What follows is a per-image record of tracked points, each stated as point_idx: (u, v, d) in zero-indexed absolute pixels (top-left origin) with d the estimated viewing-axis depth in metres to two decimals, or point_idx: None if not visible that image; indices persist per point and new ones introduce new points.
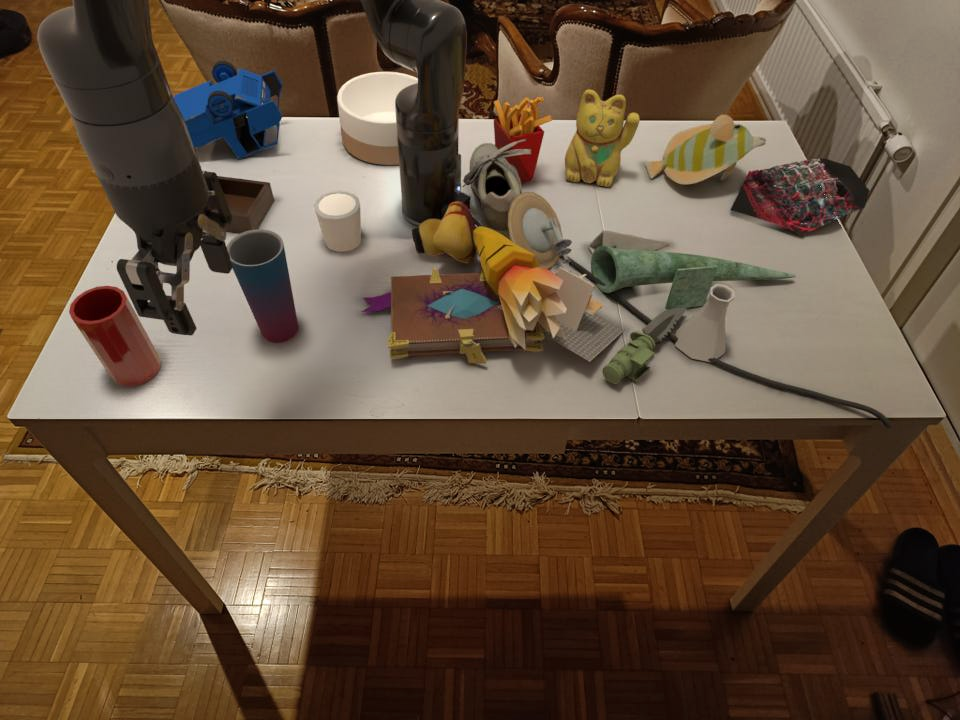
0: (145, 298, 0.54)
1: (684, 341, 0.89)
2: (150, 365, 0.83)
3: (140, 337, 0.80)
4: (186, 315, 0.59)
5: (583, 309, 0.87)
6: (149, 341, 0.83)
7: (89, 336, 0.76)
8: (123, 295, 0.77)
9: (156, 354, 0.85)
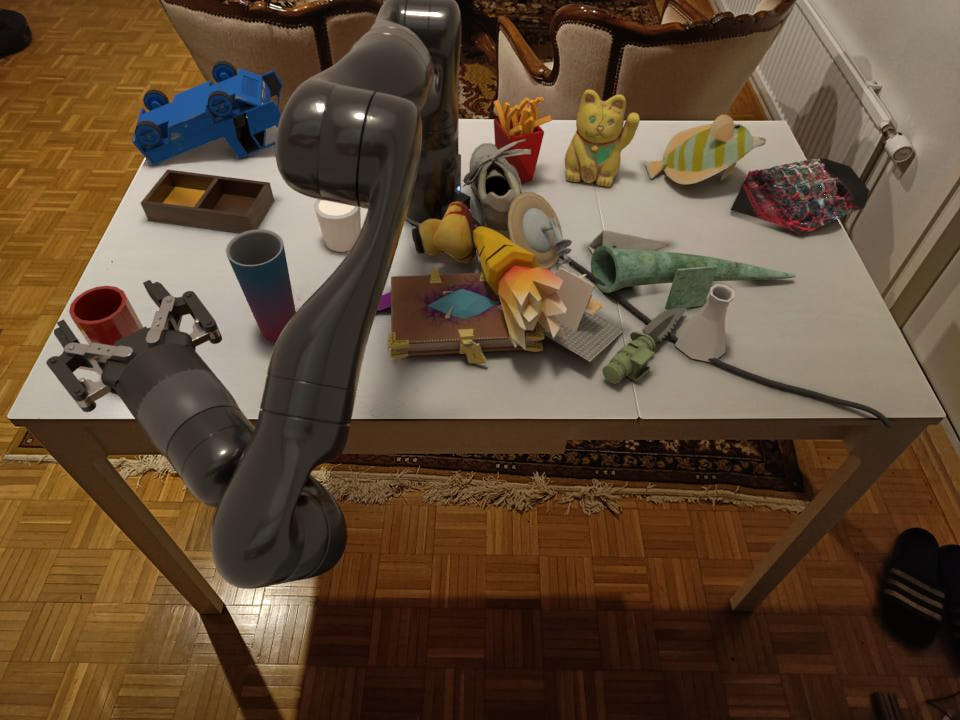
0: None
1: (684, 341, 0.89)
2: None
3: None
4: (158, 292, 0.65)
5: (583, 309, 0.87)
6: None
7: (89, 336, 0.76)
8: (123, 295, 0.77)
9: None
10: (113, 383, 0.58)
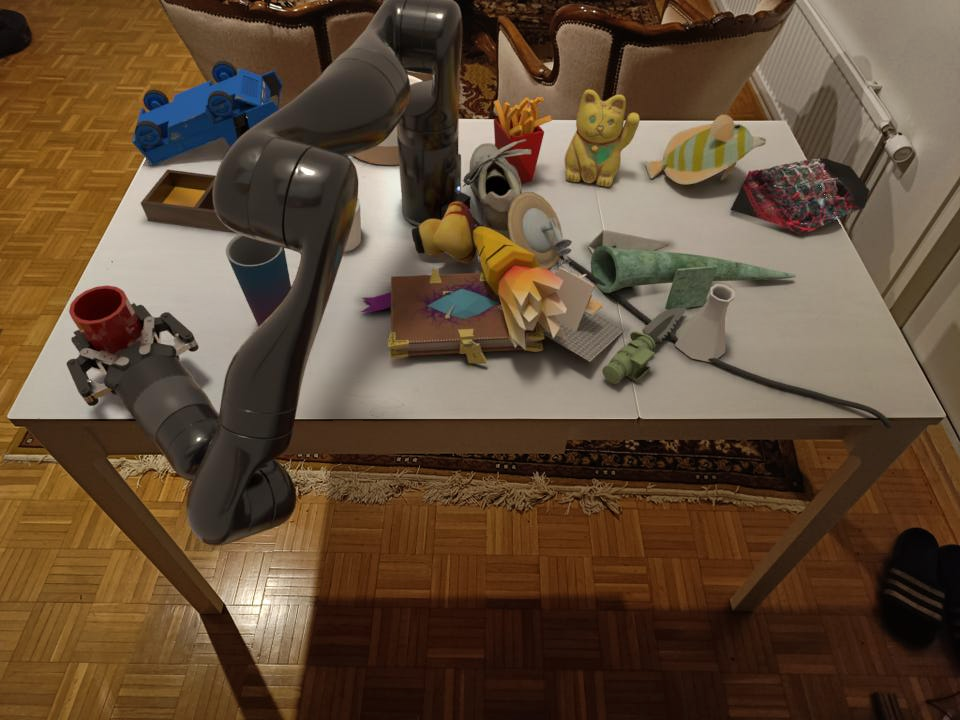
0: None
1: (684, 340, 0.89)
2: None
3: (140, 337, 0.80)
4: (141, 313, 0.81)
5: (583, 309, 0.87)
6: None
7: (89, 336, 0.76)
8: (123, 295, 0.77)
9: None
10: (114, 386, 0.74)
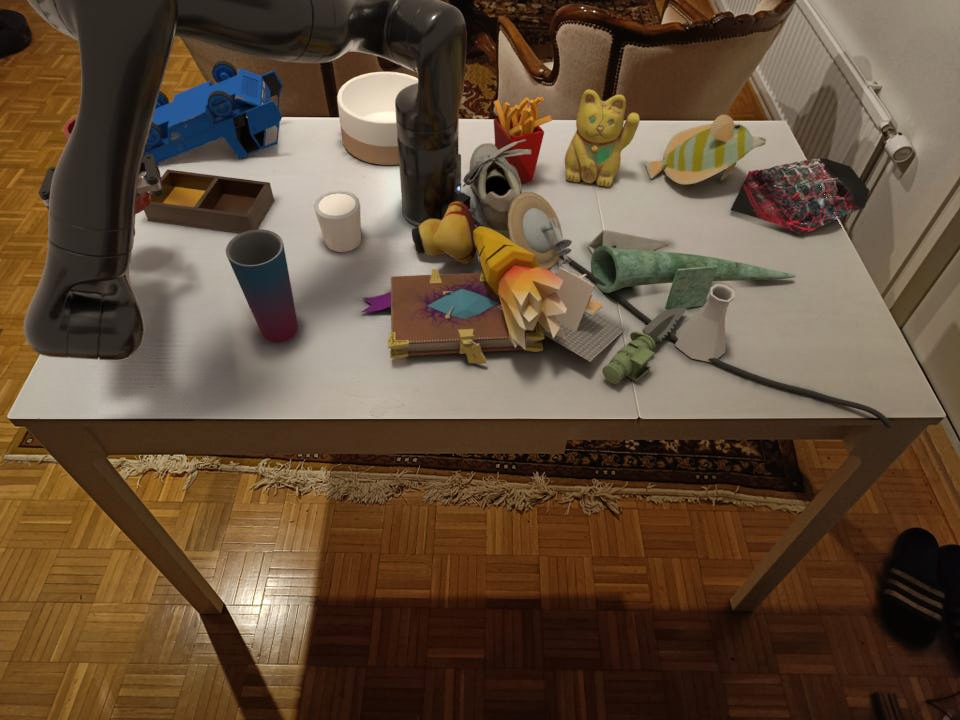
0: (157, 171, 0.84)
1: (684, 341, 0.89)
2: None
3: None
4: None
5: (583, 309, 0.87)
6: None
7: None
8: None
9: (143, 195, 0.89)
10: None
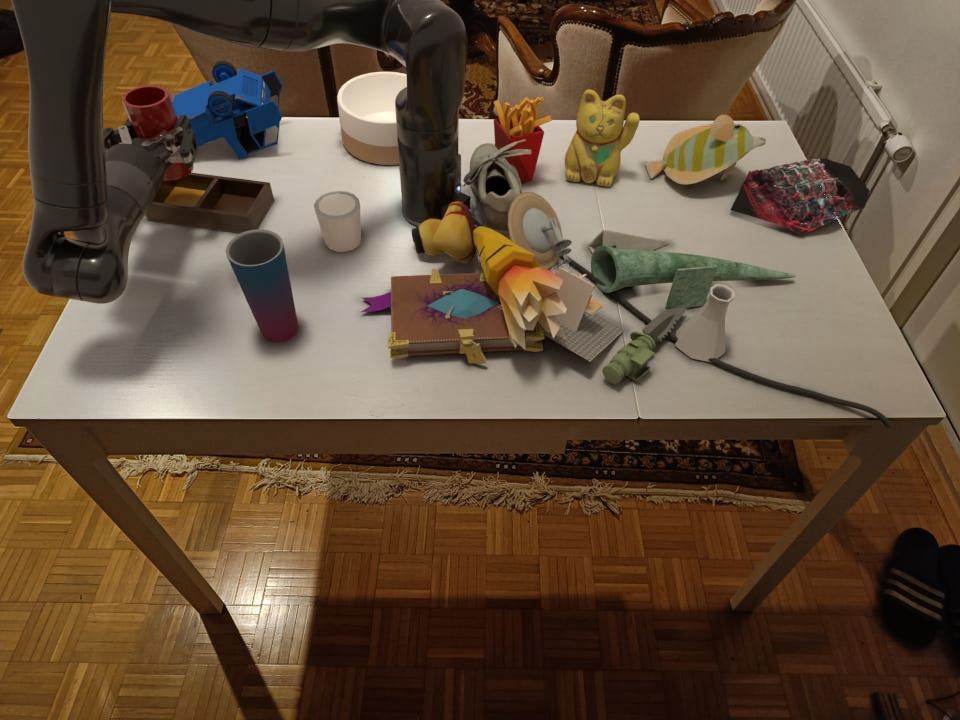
0: (193, 145, 0.93)
1: (684, 341, 0.89)
2: (172, 168, 0.98)
3: None
4: (179, 123, 0.95)
5: (583, 309, 0.87)
6: None
7: None
8: (164, 98, 0.92)
9: None
10: None
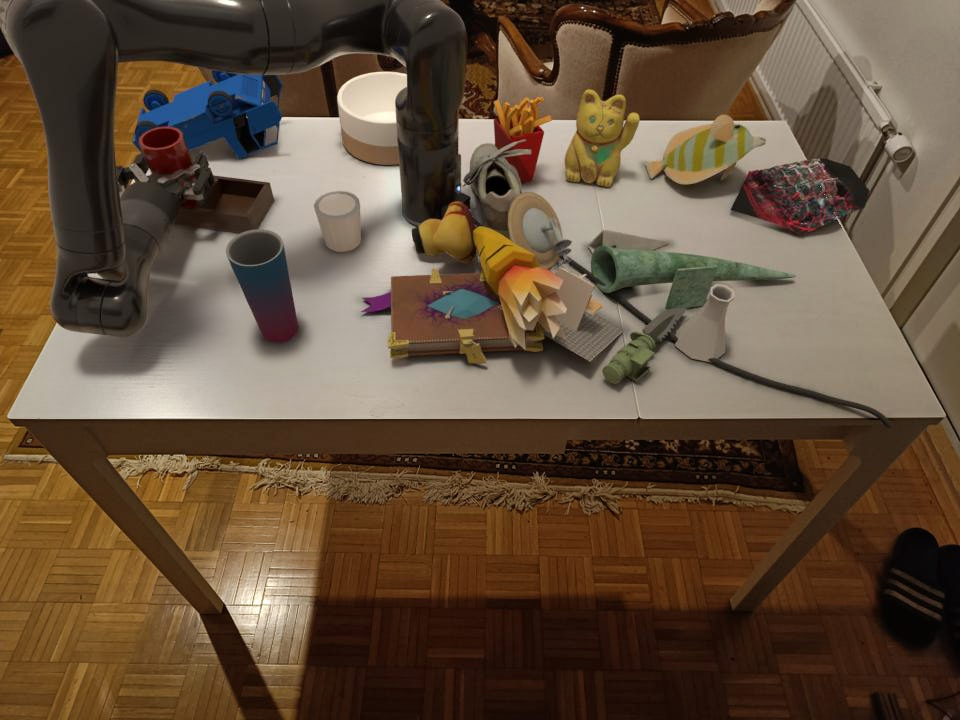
0: (208, 183, 0.97)
1: (684, 341, 0.89)
2: (186, 204, 1.03)
3: (181, 178, 1.00)
4: (197, 160, 0.99)
5: (583, 309, 0.87)
6: None
7: (145, 157, 0.98)
8: (179, 140, 0.97)
9: None
10: None
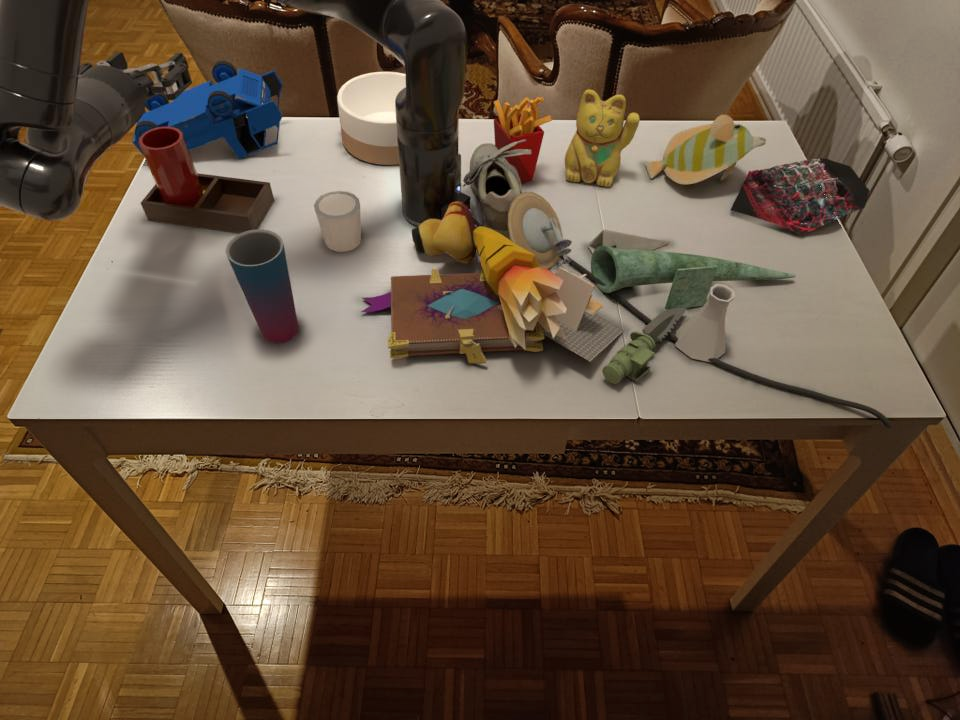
0: (181, 79, 0.85)
1: (684, 341, 0.89)
2: (186, 204, 1.03)
3: (181, 178, 1.00)
4: (173, 58, 0.88)
5: (583, 309, 0.87)
6: (193, 186, 1.02)
7: (145, 157, 0.98)
8: (179, 140, 0.97)
9: (197, 199, 1.04)
10: None
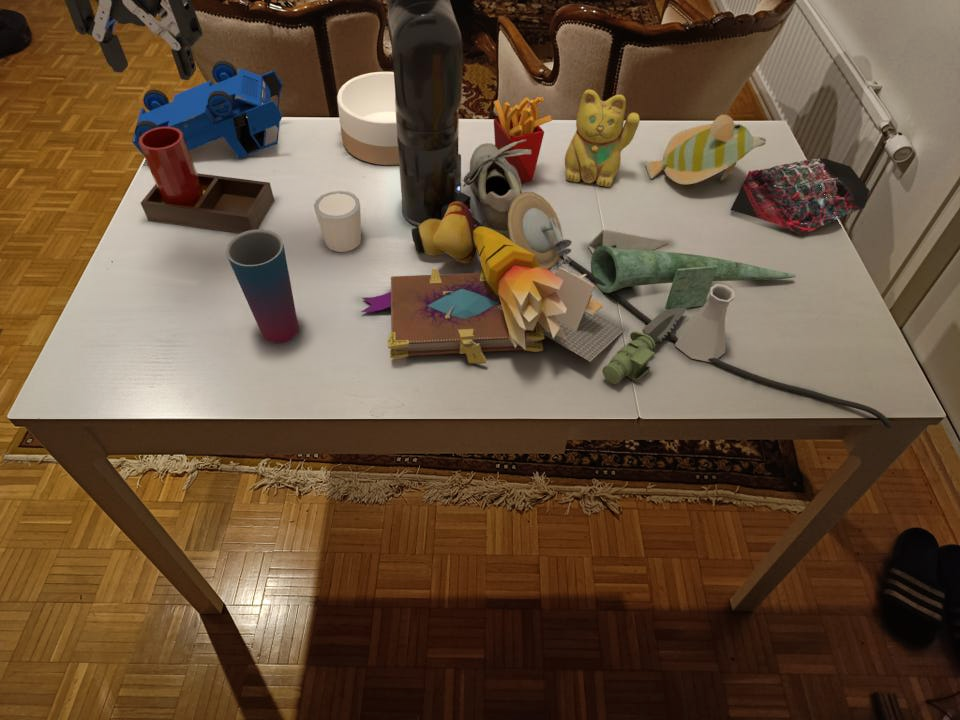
0: (191, 16, 0.73)
1: (684, 341, 0.89)
2: (186, 204, 1.03)
3: (181, 178, 1.00)
4: None
5: (583, 309, 0.87)
6: (193, 186, 1.02)
7: (145, 157, 0.98)
8: (179, 140, 0.97)
9: (197, 199, 1.04)
10: None
